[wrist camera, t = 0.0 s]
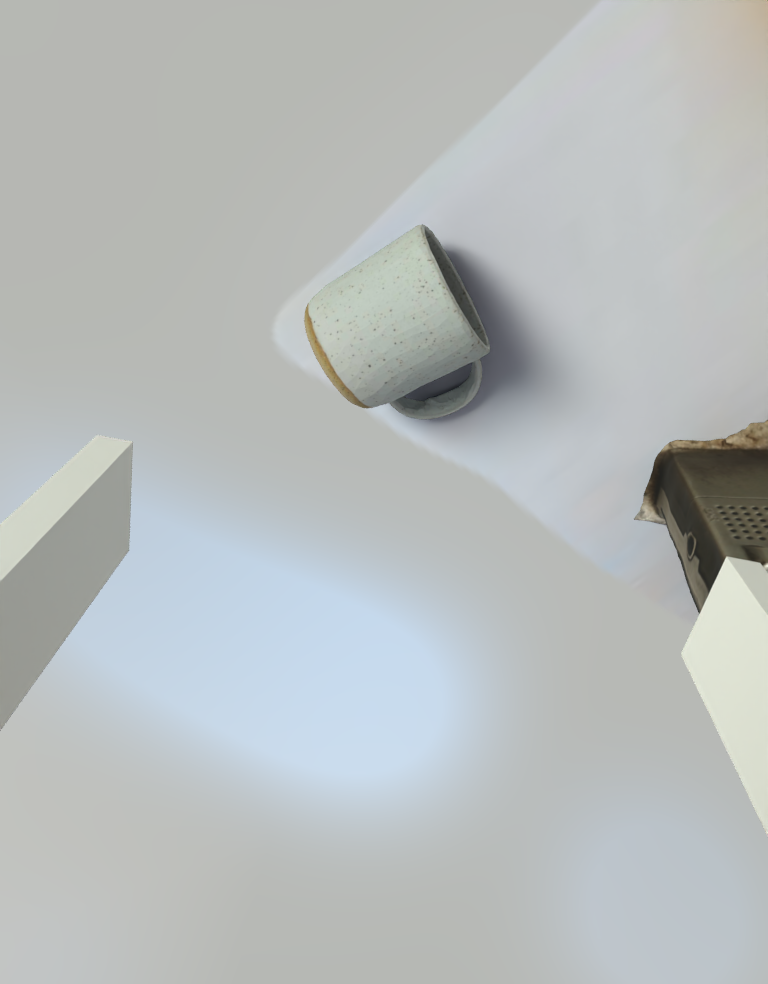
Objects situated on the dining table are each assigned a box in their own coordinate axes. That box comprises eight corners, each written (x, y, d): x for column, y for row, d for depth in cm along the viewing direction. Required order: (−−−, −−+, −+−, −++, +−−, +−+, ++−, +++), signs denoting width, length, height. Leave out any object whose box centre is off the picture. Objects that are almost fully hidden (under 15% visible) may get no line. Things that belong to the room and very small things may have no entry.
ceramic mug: (304, 291, 42) (282, 325, 35) (424, 212, 39) (424, 232, 33) (400, 433, 45) (396, 488, 39) (514, 369, 43) (530, 415, 37)
